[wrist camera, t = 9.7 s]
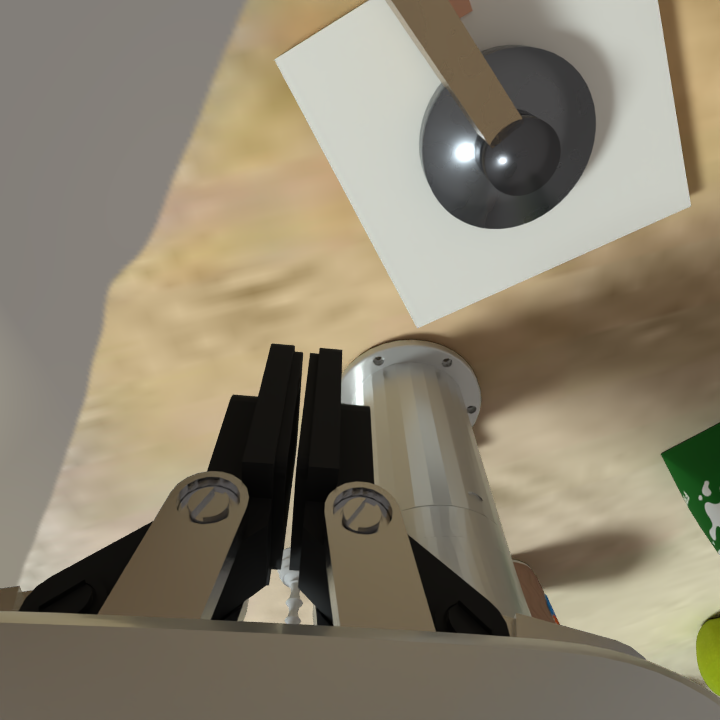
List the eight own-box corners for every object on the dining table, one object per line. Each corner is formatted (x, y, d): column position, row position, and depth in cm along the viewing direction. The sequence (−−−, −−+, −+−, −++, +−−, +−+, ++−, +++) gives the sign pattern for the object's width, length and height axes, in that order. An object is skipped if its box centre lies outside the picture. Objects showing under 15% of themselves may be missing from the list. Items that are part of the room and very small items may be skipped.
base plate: (679, 199, 36) (692, 207, 35) (415, 318, 41) (417, 329, 40) (617, -156, 26) (633, -165, 25) (277, 57, 31) (273, 60, 30)
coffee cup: (531, 604, 64) (565, 715, 54) (448, 600, 63) (468, 711, 53) (560, 552, 58) (605, 664, 48) (470, 546, 57) (496, 659, 47)
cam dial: (611, 147, 33) (649, 168, 29) (476, 247, 36) (494, 279, 32) (467, -113, 26) (490, -136, 22) (318, 42, 29) (313, 48, 25)
